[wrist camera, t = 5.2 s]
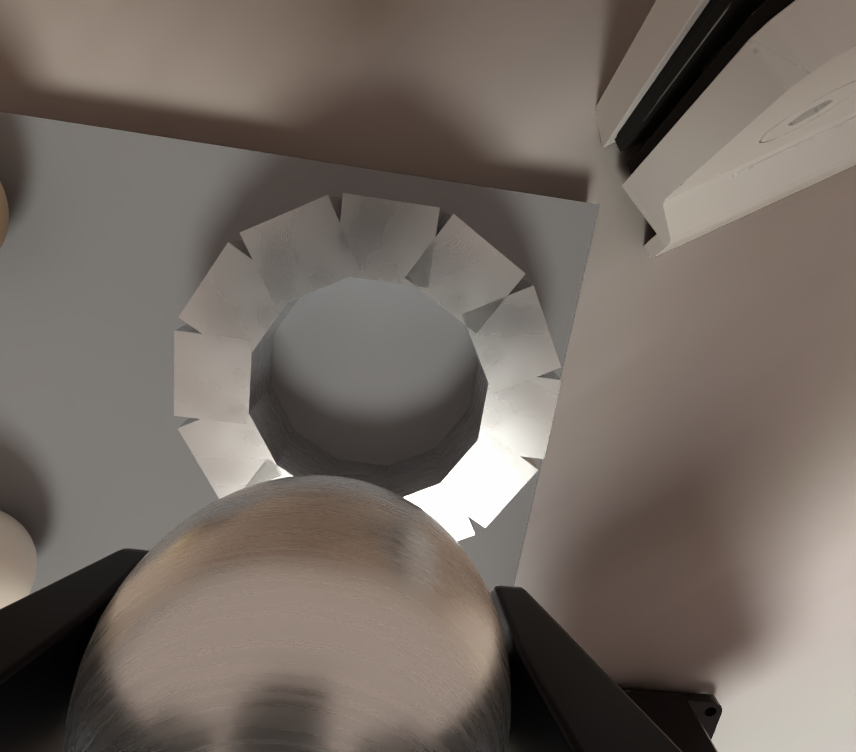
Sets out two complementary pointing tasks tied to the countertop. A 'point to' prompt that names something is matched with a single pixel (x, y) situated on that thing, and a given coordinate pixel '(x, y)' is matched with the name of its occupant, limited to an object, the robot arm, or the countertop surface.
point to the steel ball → (298, 633)
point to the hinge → (731, 108)
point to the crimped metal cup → (382, 261)
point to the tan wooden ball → (3, 215)
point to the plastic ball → (15, 561)
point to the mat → (158, 318)
